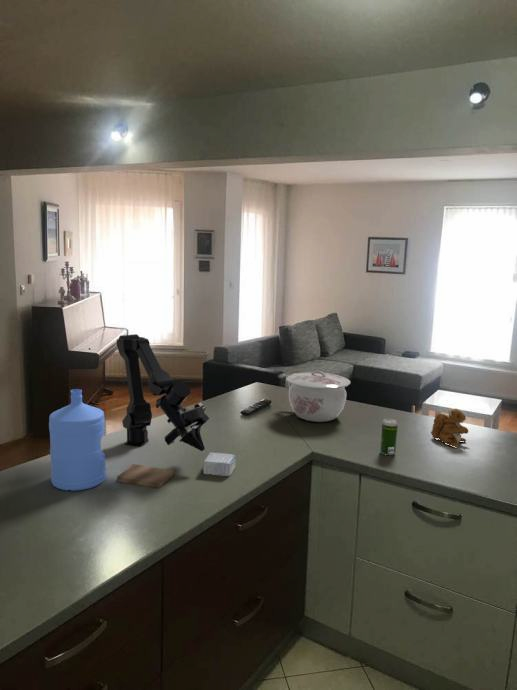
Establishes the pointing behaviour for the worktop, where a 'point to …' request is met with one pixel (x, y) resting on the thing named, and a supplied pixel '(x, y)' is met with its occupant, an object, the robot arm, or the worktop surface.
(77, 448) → the water jug
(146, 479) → the walnut cutting board
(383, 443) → the beer can
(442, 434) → the stuffed squirrel
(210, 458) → the medicine box
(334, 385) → the chamber pot
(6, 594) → the worktop surface
